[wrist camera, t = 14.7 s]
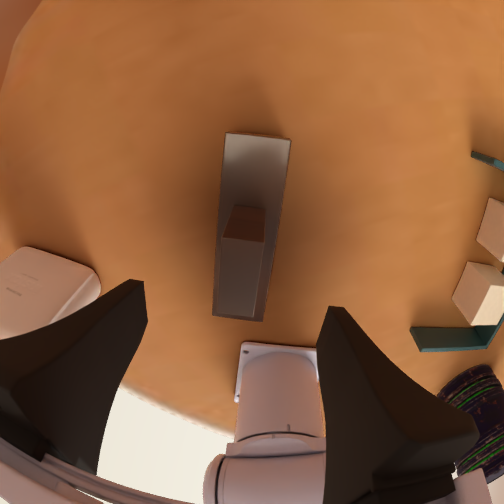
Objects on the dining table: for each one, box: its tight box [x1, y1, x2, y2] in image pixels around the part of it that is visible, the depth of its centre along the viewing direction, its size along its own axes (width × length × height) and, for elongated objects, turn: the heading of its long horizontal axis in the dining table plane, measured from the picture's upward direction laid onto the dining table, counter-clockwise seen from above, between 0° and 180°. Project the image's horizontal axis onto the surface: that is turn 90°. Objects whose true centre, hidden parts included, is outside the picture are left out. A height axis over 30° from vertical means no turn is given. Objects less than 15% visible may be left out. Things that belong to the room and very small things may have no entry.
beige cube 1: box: [452, 262, 504, 325], centre depth 20 cm, size 4×4×4 cm
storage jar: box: [437, 364, 504, 484], centre depth 22 cm, size 10×10×15 cm
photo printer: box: [0, 247, 101, 340], centre depth 18 cm, size 10×4×12 cm, turn 76°
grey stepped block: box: [212, 131, 291, 322], centre depth 17 cm, size 12×4×8 cm, turn 174°
